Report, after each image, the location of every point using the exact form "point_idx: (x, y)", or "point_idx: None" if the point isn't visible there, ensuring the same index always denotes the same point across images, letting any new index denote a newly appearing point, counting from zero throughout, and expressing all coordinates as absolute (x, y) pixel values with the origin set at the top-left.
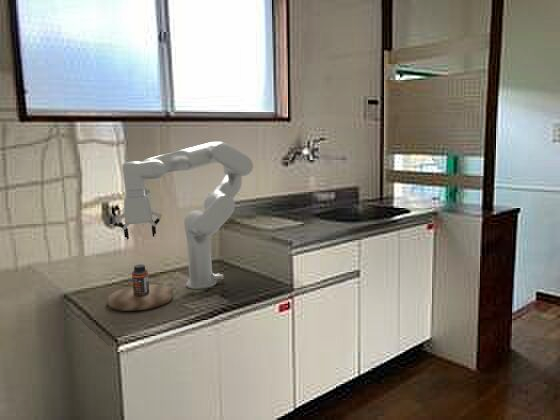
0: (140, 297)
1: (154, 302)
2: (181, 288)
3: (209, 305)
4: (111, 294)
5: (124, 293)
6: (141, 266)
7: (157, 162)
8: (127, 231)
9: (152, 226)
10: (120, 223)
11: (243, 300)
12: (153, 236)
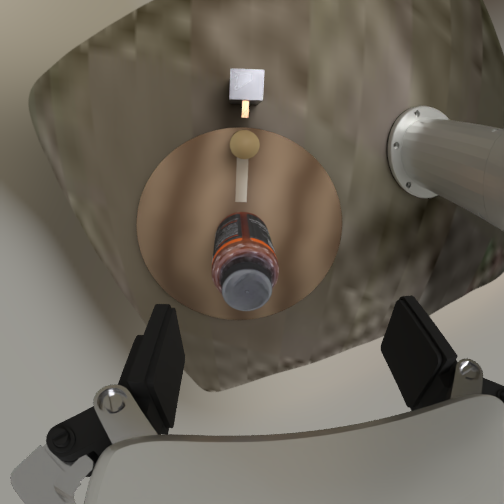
0: None
1: (277, 311)
2: (370, 157)
3: (389, 313)
4: (141, 204)
5: (183, 208)
6: (256, 304)
7: None
8: (171, 416)
9: (421, 403)
10: (89, 472)
11: (444, 303)
12: (384, 348)
